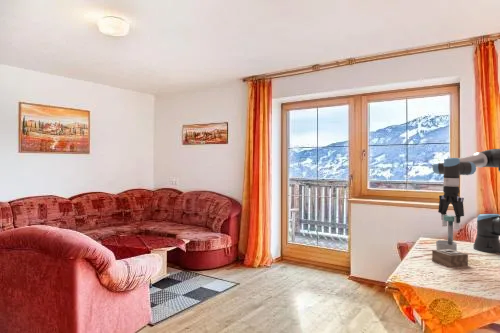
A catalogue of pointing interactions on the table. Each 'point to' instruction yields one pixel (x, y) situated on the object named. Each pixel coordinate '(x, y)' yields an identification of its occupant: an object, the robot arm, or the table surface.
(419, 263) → the table surface
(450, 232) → the teal rounded knob
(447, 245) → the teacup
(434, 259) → the block
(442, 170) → the robot arm
